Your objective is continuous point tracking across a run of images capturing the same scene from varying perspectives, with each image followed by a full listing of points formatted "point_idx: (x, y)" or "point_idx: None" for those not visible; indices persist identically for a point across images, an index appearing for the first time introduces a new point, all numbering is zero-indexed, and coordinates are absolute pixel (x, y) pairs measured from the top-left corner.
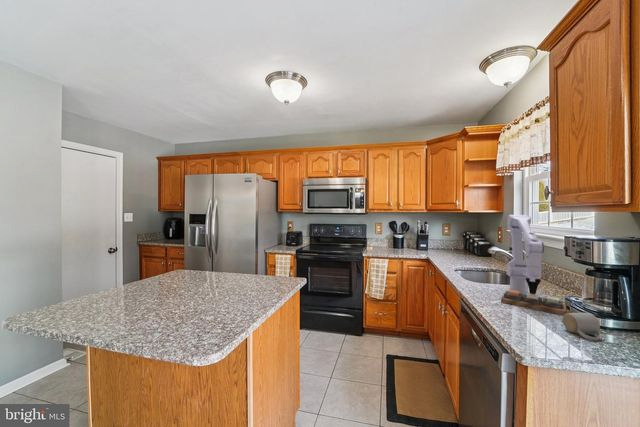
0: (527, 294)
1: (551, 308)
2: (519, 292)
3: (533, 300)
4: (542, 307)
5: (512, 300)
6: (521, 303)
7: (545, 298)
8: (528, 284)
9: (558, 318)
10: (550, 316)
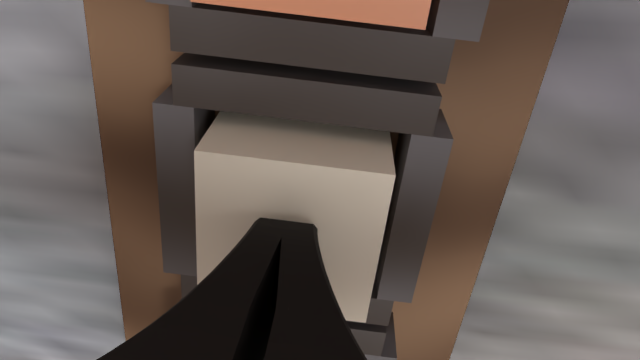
0: (212, 165)
1: (125, 324)
2: (384, 19)
3: (167, 203)
4: (117, 250)
5: None
6: (94, 17)
7: (364, 351)
8: (124, 349)
9: (8, 311)
10: (5, 265)
